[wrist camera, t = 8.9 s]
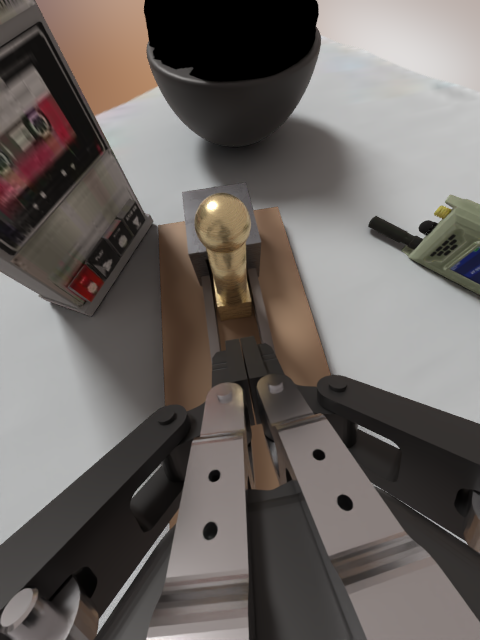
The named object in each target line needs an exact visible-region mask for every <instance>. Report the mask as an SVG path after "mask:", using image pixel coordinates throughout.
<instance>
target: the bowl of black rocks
mask: <svg viewBox="0 0 480 640" xmlns="http://www.w3.org/2000/svg"><path fill="white" fill-rule="evenodd" d="M144 14H145V18H146V23H147V29H148V36H149V42H148V44H147V58H148V61H149V65H150V68H151V70H152V73H153V75H154V78H155V80H156V82H157V84H158V86H159V88H160V90H161V92H162V94H163V96H164V97H165V99H166V101H167V103H168V104H169V105H170V107H171V108H172V110H173V111H174V112H175V114H176V115H177V116H178V117H179V119H180V120H181V121H182V122H183V123H184V124H185V125H186V126H187V127H188V128H189V129H191V130H192V131H193V132H195V133H196V134H197V135H199V136H200V137H202V138H204V139H205V140H208V141H210V142H212V143H215V144H218V145H222V146H230V147H238V146H245V145H250V144H253V143H256V142H258V141H260V140H262V139H264V138H266V137H267V136H269V135H270V134H272V133H273V132H274V131H275V130H277V129H278V128H279V127H280V126H281V125H282V124H283V123H284V122H285V121H286V120H287V118H288V117H289V116H290V115H291V113H292V112H293V111H294V109H295V108H296V106H297V105H298V103H299V101H300V100H301V98H302V96H303V94H304V92H305V90H306V88H307V86H308V84H309V82H310V79H311V76H312V74H313V71H314V68H315V65H316V62H317V58H318V55H319V51H320V45H321V36H320V33H319V30H318V29H317V27H316V22H317V18H318V15H319V14H318V3H317V1H316V0H145V4H144Z"/></svg>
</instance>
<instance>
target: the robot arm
mask: <svg viewBox="0 0 480 640" xmlns="http://www.w3.org/2000/svg"><path fill="white" fill-rule="evenodd" d="M240 342H241V346H240ZM240 342H239V338H238V339H232V340H227V341H225V346H226V350H224V351H219V352H216V353H215V355H214V356H213V358H212V389H211V390H210V391H209V392H208V394H207V396H206V401H205V402H204V403H203V404H201V405H200V406H198V407H196V408H193V409H191V410H189V411H186V409H185V408H184V407H183V406H181V405H176V404H175V405H168V406H165V407H163V408H161V409H159V410H157V411H156V412H155V413H153V414H152V415H151V416H150V417H149V418H148V419H146V420H145V421H144V422H143V423H142V424H141V425H139V426H138V427H137V428H136V429H135V430H134V431H132V432H131V433H130V434H129V435H128V436H127V437H126V438H124V439H123V440H122V441H121V442H120V443H119V444H117V445H116V446H115V447H114V448H113V449H112V450H110V451H109V452H108V453H107V454H106V455H105V456H103V457H102V458H101V459H100V460H99V461H98V462H97V463H95V464H94V465H93V466H92V467H91V468H90V469H88V470H87V471H86V472H85V473H84V474H83V475H81V476H80V477H79V478H78V479H77V480H76V481H74V482H73V483H72V484H71V485H70V486H69V487H68V488H66V489H65V490H64V491H63V492H62V493H61V494H59V495H58V496H57V497H56V498H55V499H54V500H52V501H51V502H50V503H49V504H48V505H47V506H45V507H44V508H43V509H42V510H41V511H40V512H39V513H37V514H36V515H35V516H34V517H33V518H32V519H30V520H29V521H28V522H27V523H26V524H25V525H23V526H22V527H21V528H20V529H19V530H18V531H16V532H15V533H14V534H13V535H12V536H11V537H10V538H8V539H7V540H6V541H5V542H4V543H3V544H1V545H0V640H480V424H478V423H475V422H473V421H470V420H467V419H464V418H461V417H458V416H456V415H453V414H450V413H447V412H444V411H441V410H438V409H436V408H433V407H430V406H427V405H424V404H421V403H419V402H416V401H413V400H410V399H407V398H404V397H401V396H399V395H396V394H393V393H390V392H387V391H384V390H382V389H379V388H376V387H373V386H370V385H367V384H364V383H362V382H359V381H356V380H353V379H350V378H347V377H344V376H340V375H329V376H325V377H323V378H321V379H320V380H319V381H318V383H317V387H314V386H301V385H297V384H294V382H293V381H292V379H291V378H290V377H288V376H286V375H285V374H284V372H283V370H282V367H281V365H280V363H279V361H278V359H277V357H276V355H275V353H274V351H273V348H272V347H271V346H269V345H268V344H266V343H263V344H257V343H256V340H255V338H254V336H249V337H243V338H240ZM241 348H242V351H241ZM242 354H243V356H242ZM243 359H244V360H243ZM249 390H250V391H249ZM250 395H251V397H250ZM251 400H252V403H251ZM252 404H253V409H254V414H255V419H256V423H257V425H258V424H262V426H263V431H264V437H265V442H266V445H267V448H268V451H269V454H270V458H271V461H272V464H273V467H274V470H275V473H276V476H277V479H278V482H279V485H280V486H279V487H277V488H275V489H273V490H257V489H256V483H255V471H254V459H253V447H252V440H251V439H252V430H251V426H253V425H255V421H254V415H253V409H252ZM358 425H360V426H362V427H364V428H367V429H369V430H371V431H373V432H375V433H377V434H379V435H381V436H383V437H385V438H387V439H389V440H391V441H393V442H394V443H395V444H396V445H397V446H398V447H399V448H400V449H398V448H396V447H394V446H392V445H390V444H388V443H386V442H383V441H381V440H379V439H377V438H375V437H373V436H371V435H369V434H367V433H365V432H363V431H361V430H359V429H357V428H358ZM160 464H161V465H162V466H161V467H160V468H159V469H158V470H157V472H156V473H155V474H154V475H153V476H152V477H151V478H150V479H149V480H148V482H147V483H146V484H145V485H144V486H143V487H142V488H141V489H140V490H139V491H138V493H137V494H136V495H135V496H134V497H133V498H132V496H133V494H134V493H135V491H136V490H137V489H138V488H139V486H140V485H141V484H142V483H143V482H144V481H145V480H146V479H147V478H148V477H149V476H150V474H151V473H152V472H153V471H154V470H155V469H156V468H157V467H158V466H159V465H160ZM372 483H373V484H375V485H376V486H378V487H380V488H381V489H383V490H384V491H383V490H381V489H379V488H377V487H375V486H373V485H372ZM385 491H386V492H385ZM387 492H388V493H387ZM390 494H391V495H390ZM393 496H394V497H393ZM395 497H396V498H397V499H396V498H395ZM398 499H399V500H398ZM401 501H402V502H401ZM403 502H404V503H405V504H404V503H403ZM406 504H407V505H408V506H407V505H406ZM409 506H410V507H412V508H413V509H415V510H417V511H418V512H420V513H421V514H423V515H425V516H426V517H428V518H429V519H431V520H433V521H434V522H436V523H437V524H439V525H441V526H442V527H444V528H445V529H447V530H449V531H450V532H452V533H454V534H455V535H457V536H458V537H460V538H462V539H463V540H465V541H466V542H467V544H468V545H467V544H465V543H463V542H462V541H460V540H459V539H457V538H456V537H454V536H453V535H451V534H450V533H448V532H447V531H445V530H444V529H442V528H441V527H439V526H438V525H436V524H435V523H433V522H432V521H430V520H428V519H427V518H425V517H424V516H422V515H421V514H419V513H418V512H416V511H415V510H413V509H412V508H410V507H409ZM178 509H179V512H178V518H177V523H176V524H175V525H174V526H173V527H172V528H171V529H170V530H169V531H168V532H167V534H166V535H165V536H164V537H163V539H162V540H161V541H160V542H159V544H158V545H157V547H156V548H155V550H154V551H153V553H152V554H151V555H150V557H149V558H148V560H147V561H146V563H145V564H144V566H143V567H142V569H141V570H140V572H139V573H138V575H137V576H136V578H135V579H134V581H133V582H132V584H131V585H130V587H129V588H128V590H127V591H126V593H125V594H124V595H123V597H122V598H121V600H120V601H119V603H118V604H117V606H116V607H115V609H114V610H113V612H112V613H111V615H110V616H109V618H108V619H107V621H106V622H105V624H104V625H103V627H102V628H101V630H100V631H99V633H98V634H97V630H98V621H99V618H100V617H101V616H102V614H103V613H104V611H105V610H106V609H107V607H108V606H109V605H110V603H111V602H112V600H113V599H114V598H115V596H116V595H117V594H118V592H119V591H120V589H121V588H122V587H123V585H124V584H125V582H126V581H127V580H128V578H129V577H130V576H131V574H132V573H133V571H134V570H135V569H136V567H137V566H138V564H139V563H140V562H141V560H142V559H143V558H144V556H145V555H146V553H147V552H148V551H149V549H150V548H151V547H152V545H153V544H154V542H155V541H156V540H157V538H158V537H159V535H160V534H161V533H162V531H163V530H164V529H165V527H166V526H167V524H168V523H169V522H170V520H171V519H172V518H173V516H174V515H175V513H176V512H177V511H178ZM96 635H97V636H96Z"/></svg>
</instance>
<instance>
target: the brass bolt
mask: <svg viewBox="0 0 480 640" xmlns="http://www.w3.org/2000/svg"><path fill="white" fill-rule="evenodd" d="M194 222H195V231H196V234H197V236H198V238H199V240H200V242H201V243H202V244H203V245H204V246H205V247H206V251H207V255H208V258H209V262H210V266H211V270H212V274H213V279H214V286H215V293H216V300H217V307H218V311H219V314H220V317H221V321H225V320H231V319H237V318H243V317H249V316H251V297H250V293H249V288H248V283H247V273H246V240H247V239H248V237H249V234H250V229H251V219H250V215H249V212H248V210H247V208H246V206H245V205H244V203H243V202H242V201H241V200H240V199H238V198H237V197H235V196H233V195H231V194H227V193H216V194H213V195H211V196H209V197H207V198H206V199H205V200H203V202H202V203H201V204H200V205H199V207H198V209H197V211H196V214H195V220H194Z"/></svg>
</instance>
